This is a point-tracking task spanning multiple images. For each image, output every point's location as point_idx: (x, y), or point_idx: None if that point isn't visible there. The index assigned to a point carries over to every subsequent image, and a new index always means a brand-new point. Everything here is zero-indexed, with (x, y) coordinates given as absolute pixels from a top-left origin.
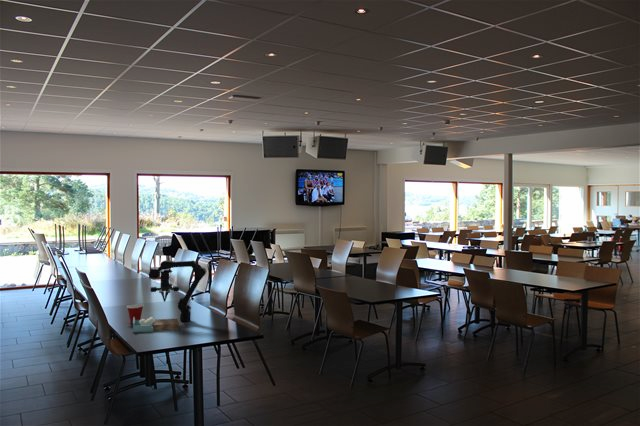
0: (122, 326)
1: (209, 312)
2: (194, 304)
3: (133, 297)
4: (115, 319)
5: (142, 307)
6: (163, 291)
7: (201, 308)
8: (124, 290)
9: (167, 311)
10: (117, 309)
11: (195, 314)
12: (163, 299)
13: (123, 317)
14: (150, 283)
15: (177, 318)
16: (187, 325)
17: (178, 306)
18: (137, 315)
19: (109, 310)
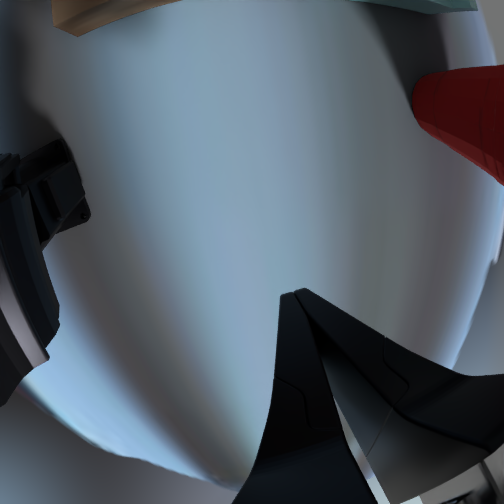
0: (469, 32)
1: (45, 399)
2: (178, 469)
3: (362, 457)
4: (490, 213)
5: (501, 115)
6: (421, 494)
7: (121, 444)
8: (367, 470)
9: (258, 405)
10: None
11: (78, 372)
12: (334, 308)
13: (462, 258)
14: None
15: (55, 23)
16: (4, 32)
17: (7, 188)
18: (468, 68)
19: (458, 351)
